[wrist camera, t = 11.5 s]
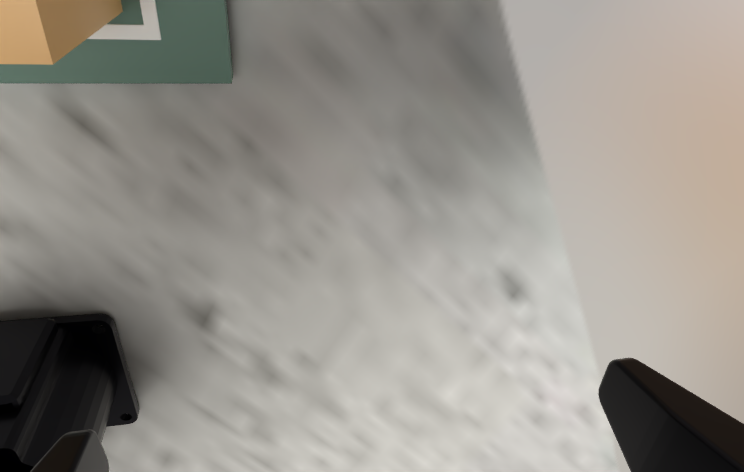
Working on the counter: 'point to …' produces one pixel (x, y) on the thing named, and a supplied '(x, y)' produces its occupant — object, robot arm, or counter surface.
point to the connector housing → (49, 27)
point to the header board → (145, 48)
